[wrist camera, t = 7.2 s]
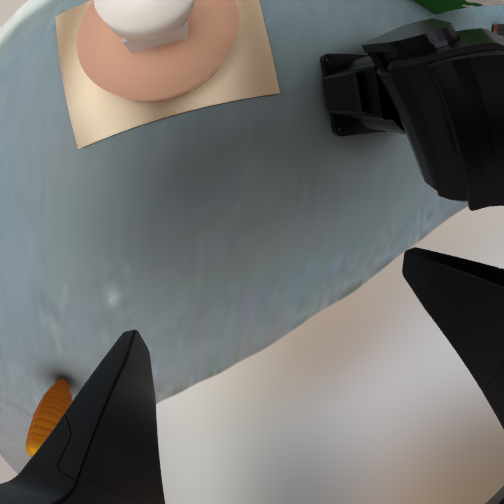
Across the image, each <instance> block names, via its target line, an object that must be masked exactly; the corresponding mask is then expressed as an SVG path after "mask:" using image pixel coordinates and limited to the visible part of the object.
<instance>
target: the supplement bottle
mask: <svg viewBox="0 0 504 504" xmlns="http://www.w3.org/2000/svg"><path fill="white" fill-rule="evenodd" d="M493 33H495V34H498V35H500V36H502V37H504V24H496V25H494V27H493Z"/></svg>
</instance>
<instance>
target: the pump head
mask: <svg viewBox="0 0 504 504" xmlns="http://www.w3.org/2000/svg"><path fill="white" fill-rule="evenodd" d="M194 4H195V0H94V6H95V9H96V11H97V13H98V14H99V16H100V17H101V18H102V19H103V20H104V22H105V23H106V24H107V25H108V26H109V28H110V29H111V30H112V31H113V32H114V33H115V34H116V35H117V36H119V37H121V38H123V39H126V40H130V41H137V42H142V41H151V40H155V39H159V38H162V37H164V36H166V35H168V34H170V33H172V32H174V31H175V30H177V29H178V28H179V27H181V26H182V25H183V24H184V23H185V22H186V21H187V19H188V18H189V17H190V15H191V13H192V11H193V8H194Z"/></svg>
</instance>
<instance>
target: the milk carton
mask: <svg viewBox="0 0 504 504" xmlns="http://www.w3.org/2000/svg"><path fill="white" fill-rule="evenodd" d="M416 1H417V2H419V3H420V4H422V5H423V6H425V7H426V8H428V9H429V10H431V11H432V12H434V13H435V14H439V13H443V12H447V11H451V10H456V9H461V8H466V7H474V6H486V5H504V0H416Z"/></svg>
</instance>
